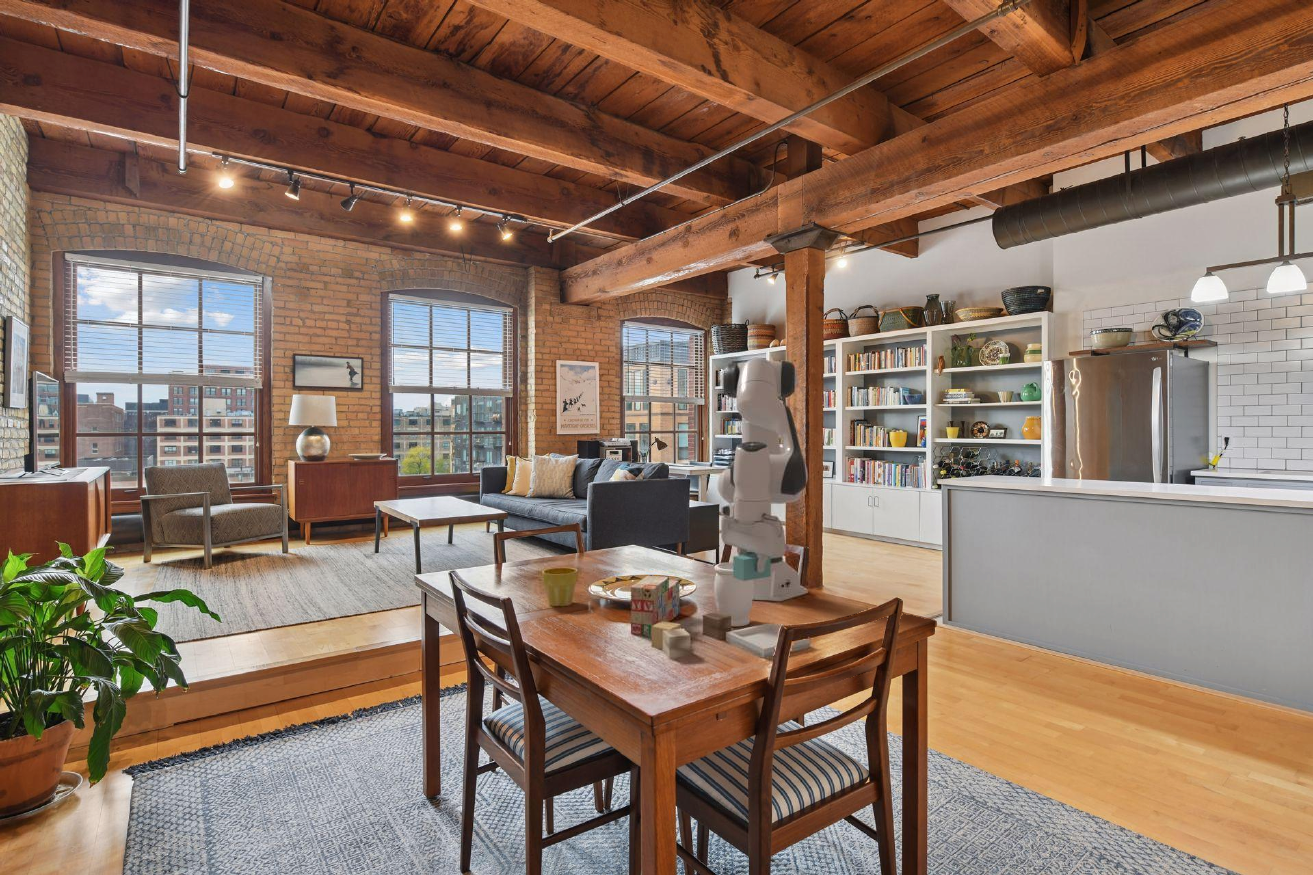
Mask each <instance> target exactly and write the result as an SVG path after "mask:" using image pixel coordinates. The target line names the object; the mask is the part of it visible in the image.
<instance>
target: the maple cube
mask: <svg viewBox="0 0 1313 875" xmlns="http://www.w3.org/2000/svg"><path fill="white" fill-rule="evenodd" d="M662 652H663V653H664V654H665V656H666V657H667V659H669V660H670V659H671V660H672V659H678V658H679V659H681V658H690V657H691V634H690V633H689V632H688V631H686V630H685V628H681V629H673V630H663V649H662Z"/></svg>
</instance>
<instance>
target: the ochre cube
mask: <svg viewBox="0 0 1313 875" xmlns="http://www.w3.org/2000/svg"><path fill="white" fill-rule="evenodd" d="M681 626H682V625H681V623H676V622H671V621H670V622H666V621H662V622H660V623H657V624H655V625H653V626H652V636H651V648H655V649H660V650H663V630H673V629H682V628H681Z"/></svg>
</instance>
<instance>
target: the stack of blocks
mask: <svg viewBox="0 0 1313 875" xmlns="http://www.w3.org/2000/svg"><path fill="white" fill-rule="evenodd" d="M679 614H680V580H675V579H670V577H669V576H657V575H656V576H655V575H654V576H653V575H647V576H645V577H643V578H642V579H641V580H639V581H638V582H636V583H635V584H633V585H632V586H631V587H630V634H631V635H636V636H647V637H652V626H653V625H655V624H657V623H660V622H662V621H666V622H671V621H673V620H674V617H675V618H676V617H677V616H678V615H679Z"/></svg>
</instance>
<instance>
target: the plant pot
mask: <svg viewBox="0 0 1313 875" xmlns="http://www.w3.org/2000/svg"><path fill="white" fill-rule="evenodd" d="M541 580H542V582H541V583H542V584H543V585H544V588H545V591H546V592H545V593H546V597H547V601H548V604H549V605H550V606H551V607H556V606H562V607H567V606H570V605H572V604H573V598H574V594H575V588H576V584H577V583H578V580H579V570H578V569H577V568H575V567H568V566H567V567H565V566H564V567H563V566H562V567H561V566H560V567H559V566H558V567H551V568H545V569H543V570H542V571H541Z"/></svg>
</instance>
